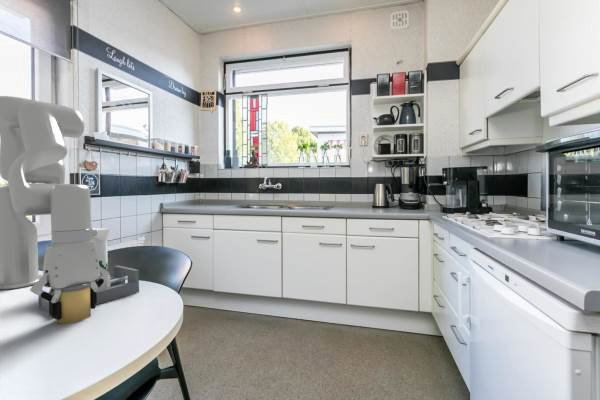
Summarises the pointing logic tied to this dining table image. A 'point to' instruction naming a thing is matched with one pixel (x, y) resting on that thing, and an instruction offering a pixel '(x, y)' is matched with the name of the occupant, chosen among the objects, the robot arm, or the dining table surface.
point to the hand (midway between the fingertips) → (74, 312)
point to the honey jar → (75, 303)
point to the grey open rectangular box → (115, 290)
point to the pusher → (110, 281)
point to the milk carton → (101, 246)
